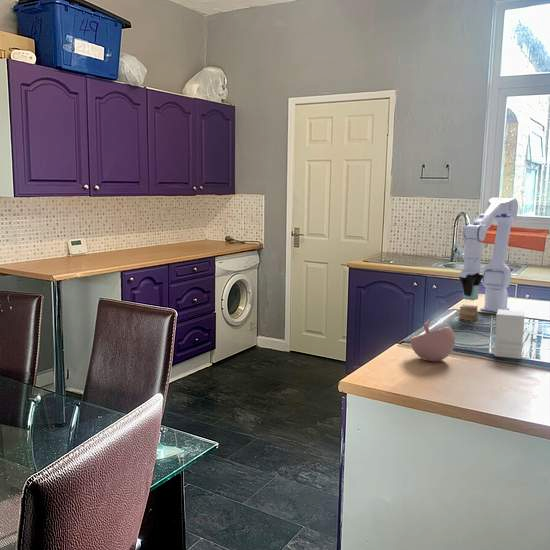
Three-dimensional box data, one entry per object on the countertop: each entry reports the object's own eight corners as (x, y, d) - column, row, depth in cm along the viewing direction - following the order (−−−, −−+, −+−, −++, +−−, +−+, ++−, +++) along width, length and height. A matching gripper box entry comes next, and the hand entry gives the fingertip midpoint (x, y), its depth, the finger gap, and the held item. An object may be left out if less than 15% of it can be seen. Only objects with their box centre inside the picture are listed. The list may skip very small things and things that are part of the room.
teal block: (467, 297, 209) (468, 284, 208) (477, 298, 206) (478, 285, 205) (462, 298, 206) (463, 285, 205) (473, 300, 203) (474, 286, 202)
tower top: (463, 310, 211) (463, 304, 210) (477, 312, 208) (477, 306, 208) (459, 313, 207) (460, 306, 206) (473, 315, 204) (474, 308, 203)
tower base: (465, 317, 211) (465, 310, 211) (478, 319, 208) (478, 313, 207) (459, 319, 208) (459, 313, 207) (471, 322, 204) (472, 315, 204)
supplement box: (521, 352, 166) (525, 310, 164) (521, 359, 159) (524, 316, 157) (495, 349, 169) (497, 308, 167) (493, 356, 162) (496, 313, 160)
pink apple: (423, 351, 166) (425, 313, 165) (461, 360, 158) (463, 320, 156) (401, 360, 158) (402, 320, 156) (439, 370, 150) (442, 328, 148)
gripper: (474, 260, 196) (471, 298, 198) (491, 257, 206) (489, 293, 208) (455, 258, 201) (453, 296, 203) (473, 255, 211) (471, 290, 213)
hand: (470, 294), depth 206 cm, fingers closed on teal block, 4 cm apart
